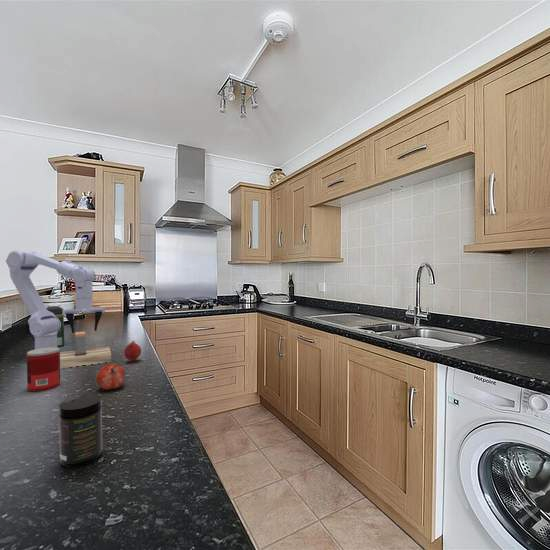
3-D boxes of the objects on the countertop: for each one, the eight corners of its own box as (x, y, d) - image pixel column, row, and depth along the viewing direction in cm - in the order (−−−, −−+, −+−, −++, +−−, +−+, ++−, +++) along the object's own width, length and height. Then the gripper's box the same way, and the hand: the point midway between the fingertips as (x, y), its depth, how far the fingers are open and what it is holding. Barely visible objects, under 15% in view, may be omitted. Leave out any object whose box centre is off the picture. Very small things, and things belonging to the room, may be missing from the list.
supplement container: (110, 452, 59) (110, 397, 59) (74, 473, 53) (73, 412, 53) (88, 444, 62) (87, 392, 62) (51, 463, 56) (50, 405, 55)
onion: (134, 364, 115) (134, 342, 115) (120, 363, 116) (120, 342, 116) (144, 359, 121) (143, 339, 121) (131, 359, 122) (130, 338, 122)
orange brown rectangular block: (75, 351, 120) (75, 332, 120) (85, 350, 122) (85, 331, 122) (75, 354, 116) (75, 334, 116) (85, 353, 117) (85, 333, 117)
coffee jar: (43, 345, 146) (42, 306, 146) (63, 342, 151) (62, 304, 151) (44, 349, 138) (43, 307, 138) (65, 346, 143) (64, 306, 143)
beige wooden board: (50, 361, 120) (50, 353, 120) (109, 353, 130) (108, 346, 130) (46, 371, 108) (46, 362, 108) (111, 361, 118) (111, 354, 118)
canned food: (66, 383, 95) (65, 348, 95) (39, 393, 88) (38, 354, 88) (48, 380, 98) (48, 346, 98) (20, 390, 90) (20, 352, 90)
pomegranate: (94, 395, 91) (93, 384, 84) (99, 371, 96) (98, 358, 89) (122, 394, 94) (123, 382, 87) (125, 371, 99) (126, 358, 92)
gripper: (61, 299, 118) (62, 335, 118) (105, 297, 125) (105, 331, 125) (63, 298, 124) (63, 332, 124) (104, 296, 131) (104, 328, 131)
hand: (84, 331), depth 125 cm, fingers open, 7 cm apart
